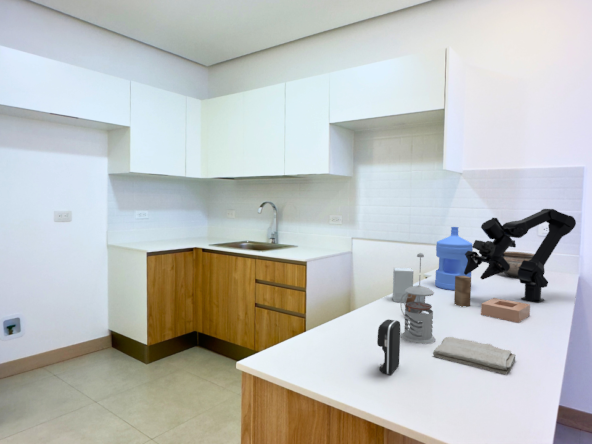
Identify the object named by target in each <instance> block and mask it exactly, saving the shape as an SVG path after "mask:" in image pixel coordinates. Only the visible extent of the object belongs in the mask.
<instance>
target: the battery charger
mask: <svg viewBox="0 0 592 444" xmlns="http://www.w3.org/2000/svg"><path fill="white" fill-rule="evenodd" d="M377 329H378V330H377V341H376V342H377V343H376V344H377V346H378V347H381V349H382V351H383V353H384V359H383V361H384V362H383V364H381V366H380V367H379V371H380V372H382V373H384V374H387V375H392V374H393V373H394V372H395V371H396V369H397V368H398V366H399V365H400V349H401V348H400V347H401V345H400V344H401V322H400V320H396V319H385V320H384V321H383V322H381V323H380V325H379V326H378V328H377Z"/></svg>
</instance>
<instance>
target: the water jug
mask: <svg viewBox="0 0 592 444" xmlns="http://www.w3.org/2000/svg"><path fill="white" fill-rule="evenodd" d="M450 229H451V230H450V235H449V236H446V237H445V238H442V239H440V240H438V241H436V247H435V253H436V257H437V258H438V268H437V269H436V271H435V280H434V284H435V286H436V287H437V288H439V289H444V290H448V291H455V276H467V277H470V278H471V279H472V271H471V272H470V273H468V274H467V275H465V274H464V271H465V268H466V266H467V262H468V260H467V258H466V256H465V253H466V252H467V251H473V249H474V248H472V246H473V242H470V241H468V239H467V240H466V239H464V238H463V237H461V236H459V227H458V226H451V227H450Z"/></svg>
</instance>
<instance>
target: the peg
mask: <svg viewBox="0 0 592 444" xmlns="http://www.w3.org/2000/svg"><path fill="white" fill-rule="evenodd" d="M471 290H472V277H471V278H470V277H467V276H455V290H454V299H453V302H454V305H455V304H456V305H455V306H458V307H460V306H461V307H460V308H464V307H463V306H466V307H471V295H472V293H471V292H472V291H471Z"/></svg>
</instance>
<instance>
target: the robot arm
mask: <svg viewBox="0 0 592 444" xmlns="http://www.w3.org/2000/svg"><path fill="white" fill-rule="evenodd" d="M576 222H577V221H576V219H575V218H574V216H572V215H568V214H566V213H564V212H560V211H558V210H556V209H554V208H543V209H541V210H540V211H537V212H535V213H533V214H531V215H529V216H527V217H524V218H522V219H520V220H512V221H511V220H510V221H508V222H505V223H503V225H502V224H501V222H500V220H499V219H498V217H492V218H491V219H488V220H486V221H485V222H483V223H482V224H481V226H480V228H481V229H482V231H483V232H484V234H485V235H486V236H487V238H489V239H490V240H487V241H484V240H480V239H479V240H477V239H475V240H474V242H473V243H472V248H473V249H475V250H477V251H478V252H477V251H467V252H466V253H465V256H466V258H467V260H468V262H467V266H466V268H465V271H464V274H465V275H467V274H468V273H470V272H471V273H472V272H473V271H475V270H476V269H477V268H479V267H480V265H481V264H482V263H486V264H488V265H487V267H486V269H485V270H484V272H483V273H482V274H481V276H480V279H481V280H485V279H487V278H490V277H492V276H496V275H499V274H501V273H502V274H504V272H507V271H508V270H509V269H510V265H509V263H508V262H507V261H506V260H505V259H504V256H505V255H504V252H507V250H508V249H509V248H516V247H517V246H516V240H514V239H515V238H516V239H520V238H522V237H524V236H525V235H526V234H528V232H529V231H530V230H531V229H533V228H535V227H537V226H539V225H542V224H544V223H547V224H548V233H547V234H546V235H545V236H544V239H543V240H542V242H541V244H540V245H539V247H538V248H537V250H536V251H535V253H533V254H534V256H533V257H532V259H531V260H529V261H526V260H524V261H523V262H522V264H521V266H520V267H518V268H519V270H518V276H519V278H518V279H519V282H520V284H524V296H523V297H521V298H520V299H521V300H523V301H528V302H534V303H541V302H543V301H545V298H542V288H547V287H548V284H549V282H548V280H547V279H546V277H545V276H544V275H545V265H546V263H547V262H548V260H549V258H550V257H551V255H552V254H553V252H554V250H555V248H557V245H559V242H560V241H561V239H562V238H563V237H565V236H566V235H568V234H571V232H572V230H573V229H574V228H575V227H576V225H577V223H576ZM512 238H514V239H512ZM491 240H492V241H491ZM503 271H504V272H503Z"/></svg>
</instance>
